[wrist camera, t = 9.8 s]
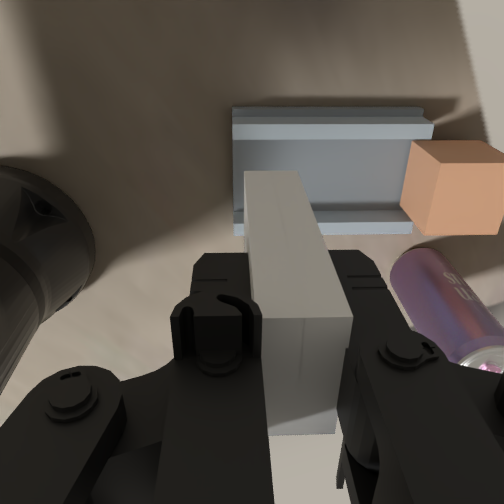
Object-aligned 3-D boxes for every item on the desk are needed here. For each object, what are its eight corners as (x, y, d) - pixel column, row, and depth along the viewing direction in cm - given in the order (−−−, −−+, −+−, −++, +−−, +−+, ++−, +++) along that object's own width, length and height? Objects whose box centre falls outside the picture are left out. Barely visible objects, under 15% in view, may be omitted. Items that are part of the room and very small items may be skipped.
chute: (233, 224, 42) (233, 241, 39) (232, 106, 37) (232, 116, 34) (397, 222, 43) (409, 239, 40) (419, 106, 38) (436, 116, 35)
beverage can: (376, 281, 47) (433, 391, 34) (409, 236, 44) (484, 336, 31) (422, 299, 48) (493, 411, 35) (456, 256, 45) (547, 360, 32)
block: (399, 205, 41) (424, 235, 35) (411, 140, 38) (441, 163, 32) (463, 204, 41) (497, 234, 36) (480, 140, 38) (520, 163, 33)
